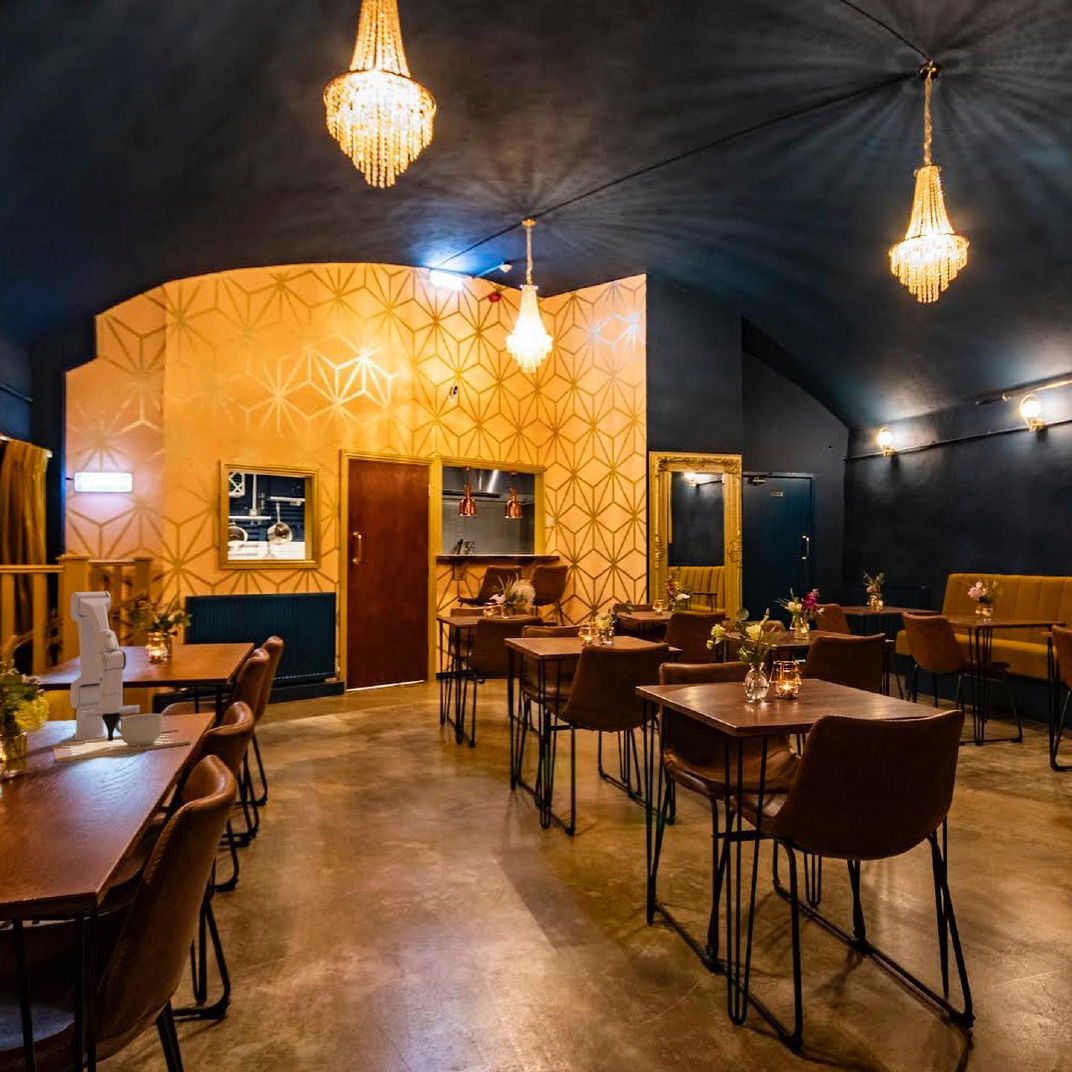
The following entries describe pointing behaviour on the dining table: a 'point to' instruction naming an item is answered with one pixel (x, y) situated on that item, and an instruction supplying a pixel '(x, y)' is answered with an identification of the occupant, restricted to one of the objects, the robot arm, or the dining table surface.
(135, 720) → the teacup
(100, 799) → the dining table surface
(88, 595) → the robot arm
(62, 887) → the dining table surface
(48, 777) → the dining table surface
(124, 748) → the beige flat rectangular board
